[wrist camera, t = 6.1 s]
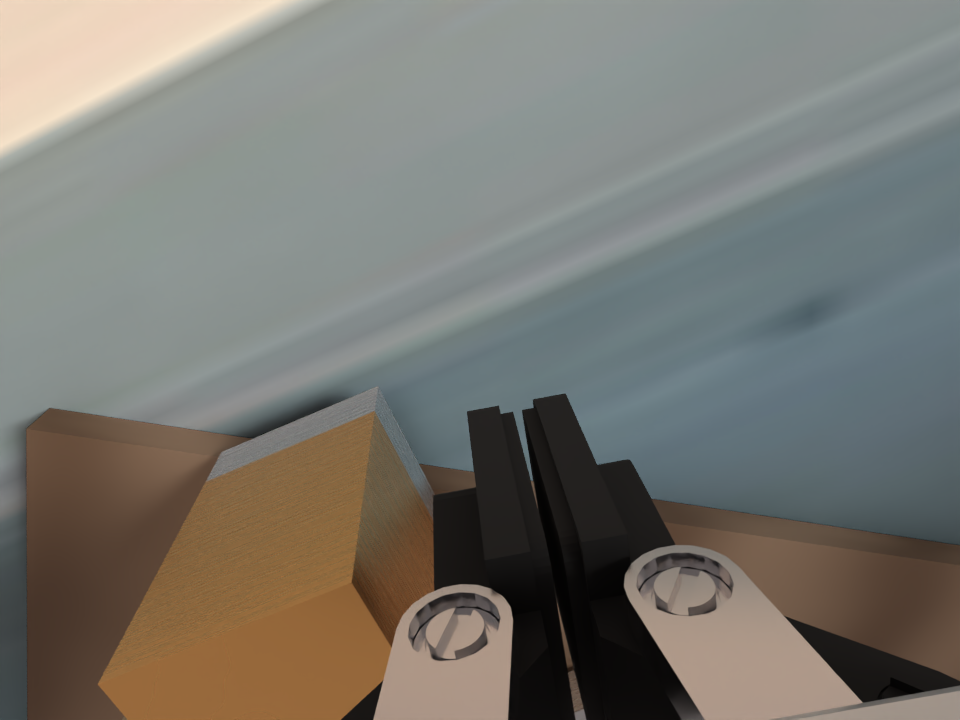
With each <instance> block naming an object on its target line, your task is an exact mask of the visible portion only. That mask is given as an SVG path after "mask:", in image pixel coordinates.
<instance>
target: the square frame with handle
mask: <svg viewBox="0 0 960 720" xmlns="http://www.w3.org/2000/svg"><path fill="white" fill-rule="evenodd" d="M434 495H435V494H434V492H433V490H432V488H431V486H430V484H429V482H428V480H427V478H426V476H425V475H424V473H423V471H422V469H421V467H420V465H419V463H418V461H417V459H416V457H415V455H414V454H413V452H412V450H411V448H410V446H409V444H408V442H407V440H406V438H405V436H404V434H403V432H402V431H401V429H400V427H399V425H398V423H397V421H396V419H395V417H394V415H393V413H392V411H391V410H390V408H389V406H388V404H387V402H386V400H385V398H384V396H383V394H382V392H381V390H380V389H379V387H378V386H377V387H374V388H372V389H370V390H367V391H365V392H363V393H360V394H358V395H355V396H353V397H351V398H348V399H346V400H344V401H341V402H339V403H336V404H334V405H332V406H329V407H327V408H325V409H322V410H320V411H317V412H315V413H313V414H310V415H308V416H306V417H303V418H301V419H299V420H296V421H294V422H291V423H289V424H287V425H284V426H282V427H280V428H277V429H275V430H272V431H270V432H268V433H265V434H263V435H261V436H258V437H256V438H253V439H251V440H249V441H246V442H244V443H242V444H239V445H237V446H235V447H232V448H230V449H227V450H225V451H223V452H221V454H220V456H219V458H218V460H217V462H216V463H215V465H214V467H213V469H212V471H211V473H210V475H209V477H208V478H207V480H206V482H205V484H204V486H203V488H202V490H201V492H200V493H199V495H198V497H197V499H196V501H195V503H194V505H193V507H192V508H191V510H190V512H189V514H188V516H187V518H186V520H185V522H184V523H183V525H182V527H181V529H180V531H179V533H178V535H177V537H176V538H175V540H174V542H173V544H172V546H171V548H170V550H169V552H168V553H167V555H166V557H165V559H164V561H163V563H162V565H161V567H160V568H159V570H158V572H157V574H156V576H155V578H154V580H153V582H152V583H151V585H150V587H149V589H148V591H147V593H146V595H145V597H144V598H143V600H142V602H141V604H140V606H139V608H138V610H137V612H136V613H135V615H134V617H133V619H132V621H131V623H130V625H129V627H128V628H127V630H126V632H125V634H124V636H123V638H122V640H121V642H120V643H119V645H118V647H117V649H116V651H115V653H114V655H113V657H112V658H111V660H110V662H109V664H108V666H107V668H106V670H105V672H104V673H103V675H102V677H101V679H100V681H99V683H98V685H99V687H100V688H101V689H102V690H103V691H104V692H105V694H106V695H107V696H108V697H109V698H110V699H111V701H112V702H113V703H114V704H115V705H116V707H117V708H118V709H119V710H120V711H121V712H122V714H123V715H124V716H125V717H126V718H127V720H341V719H342V718H343V717H344V716H345V715H346V714H347V713H348V712H349V711H351V710H352V709H353V708H354V707H355V706H356V705H357V704H358V703H359V702H360V701H361V700H362V699H364V698H365V697H366V696H367V695H368V694H369V693H370V692H371V691H372V690H373V689H374V688H375V687H377V686H378V685H379V684H380V683H381V682H382V681H383V680H384V676H385V672H386V668H387V664H388V660H389V656H390V652H391V648H392V644H393V640H394V636H395V633H396V629H397V626H398V624H399V622H400V620H401V618H402V616H403V614H404V613H405V612H406V611H407V610H408V609H409V608H410V607H411V605H412V604H413V603H415V602H416V601H418V600H419V599H421V598H422V597H424V596H425V595H426V594H428V593H431V592H433V591H434V545H433V496H434ZM568 675H569V682H570V688H571V694H572V700H573V707H574V713H575V719H576V720H586V716H585V712H584V708H583V704H582V700H581V696H580V692H579V688H578V684H577V680H576V676H575V672H574V670H573V671H570V672H568Z"/></svg>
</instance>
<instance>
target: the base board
mask: <svg viewBox="0 0 960 720" xmlns="http://www.w3.org/2000/svg"><path fill="white" fill-rule="evenodd" d="M249 440H251V438H244V437H237V436H231V435H224V434H218V433H211V432H204V431H198V430H191V429H184V428H178V427H171V426H165V425H158V424H151V423H145V422H138V421H131V420H125V419H118V418H112V417H105V416H98V415H92V414H85V413H78V412H72V411H65V410H59V409H52V408H49V409H48V410H47V411H46V412H45V413H44V414H43V415H42V416H40V417H39V418H38V419H37V420H36V421H35V422H34V423H33V424H31V425H30V426H29V427H28V428H27V429H26V462H27V720H123V717H124V715H123V714H122V712H121V711H120V710H119V709H118V708H117V707H116V705H115V704H114V703H113V702H112V701H111V699H110V698H109V697H108V696H107V695H106V694H105V692H104V691H103V690H102V689H101V688H100V687H99V685H98V683H99V681H100V679H101V677H102V675H103V673H104V672H105V670H106V668H107V666H108V664H109V662H110V660H111V658H112V657H113V655H114V653H115V651H116V649H117V647H118V645H119V643H120V642H121V640H122V638H123V636H124V634H125V632H126V630H127V628H128V627H129V625H130V623H131V621H132V619H133V617H134V615H135V613H136V612H137V610H138V608H139V606H140V604H141V602H142V600H143V598H144V597H145V595H146V593H147V591H148V589H149V587H150V585H151V583H152V582H153V580H154V578H155V576H156V574H157V572H158V570H159V568H160V567H161V565H162V563H163V561H164V559H165V557H166V555H167V553H168V552H169V550H170V548H171V546H172V544H173V542H174V540H175V538H176V537H177V535H178V533H179V531H180V529H181V527H182V525H183V523H184V522H185V520H186V518H187V516H188V514H189V512H190V510H191V508H192V507H193V505H194V503H195V501H196V499H197V497H198V495H199V493H200V492H201V490H202V488H203V486H204V484H205V482H206V480H207V478H208V477H209V475H210V473H211V471H212V469H213V467H214V465H215V463H216V462H217V460H218V458H219V456H220V454H221V452H223V451H225V450H227V449H230V448H232V447H235V446H237V445H239V444H242V443H244V442H246V441H249ZM419 465H420V467H421V469H422V471H423V473H424V475H425V476H426V478H427V480H428V482H429V484H430V486H431V488H432V490H433V492H434V494H435V495H436V494H441V493H447V492H452V491H458V490H463V489H469V488H474V487H476V483H475V474H474V472H469V471H463V470H456V469H450V468H443V467H436V466H430V465H423V464H419ZM531 484H532V488H533V492H534V496H535V500H536V494H535V488H534V482H533V481H531ZM652 501H653V503H654V505H655V507H656V509H657V511H658V512H659V514H660V516H661V518H662V520H663V522H664V524H665V526H666V527H667V529H668V531H669V533H670V535H671V537H672V539H673V541H674V542H675V544H676V545H693V546H698V547H702V548H707V549H711V550H713V551H715V552H718V553H720V554H722V555H724V556H726V557H728V558H729V559H730V560H731V561H732V562H734V563H735V564H736V565H737V566H739V567H740V569H741V570H742V571H743V572H744V573H745V574H746V575H747V576H748V577H749V578H750V580H751V581H752V582H753V583H754V584H755V585H756V586H757V587H758V588H759V589H760V591H761V592H762V593H763V594H764V595H765V596H766V597H767V598H768V599H769V600H770V601H771V603H772V604H773V605H774V606H775V607H776V608H777V609H778V610H779V611H780V612H781V614H782V615H783V616H786V617H789V618H791V619H794V620H797V621H800V622H803V623H805V624H808V625H811V626H814V627H817V628H819V629H822V630H825V631H828V632H831V633H833V634H836V635H839V636H842V637H845V638H847V639H850V640H853V641H856V642H859V643H861V644H864V645H867V646H870V647H873V648H875V649H878V650H881V651H884V652H887V653H889V654H892V655H895V656H898V657H900V658H903V659H906V660H909V661H912V662H914V663H917V664H920V665H923V666H926V667H928V668H931V669H934V670H937V671H939V672H941V673H944V674H946V675H948V676H950V677H952V678H954V679H957V680H959V681H960V545H953V544H947V543H940V542H934V541H927V540H920V539H914V538H907V537H900V536H894V535H887V534H880V533H874V532H867V531H861V530H854V529H847V528H841V527H834V526H827V525H821V524H814V523H808V522H801V521H794V520H788V519H781V518H774V517H768V516H761V515H755V514H748V513H741V512H735V511H728V510H721V509H715V508H708V507H702V506H695V505H688V504H682V503H675V502H668V501H662V500H655V499H652ZM536 504H537V500H536ZM537 507H538V506H537ZM557 606H558V604H557ZM558 613H559V619H560V625H561V631H562V638H563V644H564V650H565V657H566V663H567V669H568V672H570V671H573V670H574V668H573V664H572V660H571V656H570V652H569V648H568V644H567V640H566V636H565V632H564V628H563V624H562V620H561V616H560V612H559V608H558Z"/></svg>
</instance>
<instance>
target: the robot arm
mask: <svg viewBox="0 0 960 720" xmlns="http://www.w3.org/2000/svg"><path fill="white" fill-rule="evenodd" d="M533 405H534V408H531V409H526V410H522V413H523V420H524V426H525V432H526V438H527V445H528V451H529V457H530V463H531V469H532V475H533V482H534V488H535V494H536V500H537V504H536V500H535V496H534V492H533V488H532V484H531V480H530V476H529V472H528V469H527V465H526V461H525V457H524V453H523V449H522V445H521V441H520V437H519V434H518V430H517V426H516V422H515V418H514V414H513V412H509V413H504V414H500V409H499V406H495V407H489V408H484V409H478V410H473V411H467V416H468V424H469V432H470V441H471V449H472V458H473V466H474V474H475V483H476V487H474V488H469V489H463V490H458V491H452V492H447V493H441V494H436V495H434V496H433V545H434V591H433V592H431V593H428V594H426V595H425V596H424V597H422V598H421V599H419V600H418V601H416V602H415V603H413V604H412V605H411V607H410V608H409V609H408V610H407V611H406V612H405V613H404V614H403V616H402V618H401V620H400V622H399V624H398V626H397V629H396V633H395V636H394V640H393V644H392V648H391V652H390V656H389V660H388V664H387V668H386V672H385V676H384V680H383V681H382V682H381V683H380V684H379V685H378V686H377V687H375V688H374V689H373V690H372V691H371V692H370V693H369V694H368V695H367V696H366V697H365V698H364V699H362V700H361V701H360V702H359V703H358V704H357V705H356V706H355V707H354V708H353V709H352V710H351V711H349V712H348V713H347V714H346V715H345V716H344V717H343V718H342V719H341V720H576V719H575V713H574V707H573V700H572V694H571V688H570V682H569V675H568V669H567V663H566V657H565V650H564V644H563V638H562V631H561V625H560V619H559V613H558V608H559V612H560V616H561V620H562V624H563V628H564V632H565V636H566V640H567V644H568V648H569V652H570V656H571V660H572V664H573V668H574V672H575V676H576V680H577V684H578V688H579V692H580V696H581V700H582V704H583V708H584V712H585V716H586V720H960V681H959V680H957V679H954V678H952V677H950V676H948V675H946V674H944V673H941V672H939V671H937V670H934V669H931V668H928V667H926V666H923V665H920V664H917V663H914V662H912V661H909V660H906V659H903V658H900V657H898V656H895V655H892V654H889V653H887V652H884V651H881V650H878V649H875V648H873V647H870V646H867V645H864V644H861V643H859V642H856V641H853V640H850V639H847V638H845V637H842V636H839V635H836V634H833V633H831V632H828V631H825V630H822V629H819V628H817V627H814V626H811V625H808V624H805V623H803V622H800V621H797V620H794V619H791V618H789V617H786V616H783V615H782V614H781V612H780V611H779V610H778V609H777V608H776V607H775V606H774V605H773V604H772V603H771V601H770V600H769V599H768V598H767V597H766V596H765V595H764V594H763V593H762V592H761V591H760V589H759V588H758V587H757V586H756V585H755V584H754V583H753V582H752V581H751V580H750V578H749V577H748V576H747V575H746V574H745V573H744V572H743V571H742V570H741V569H740V567H739V566H737V565H736V564H735V563H734V562H732V561H731V560H730V559H729V558H728V557H726V556H724V555H722V554H720V553H718V552H715V551H713V550H711V549H707V548H702V547H698V546H693V545H676V544H675V542H674V541H673V539H672V537H671V535H670V533H669V531H668V529H667V527H666V526H665V524H664V522H663V520H662V518H661V516H660V514H659V512H658V511H657V509H656V507H655V505H654V503H653V501H652V499H651V497H650V496H649V494H648V492H647V490H646V488H645V486H644V484H643V482H642V481H641V479H640V477H639V475H638V473H637V471H636V469H635V467H634V466H633V464H632V462H631V461H630V460H622V461H616V462H611V463H606V464H600V465H597V464H596V462H595V459H594V457H593V455H592V452H591V450H590V448H589V446H588V443H587V441H586V439H585V437H584V434H583V432H582V430H581V427H580V425H579V423H578V421H577V418H576V416H575V414H574V412H573V409H572V407H571V405H570V402H569V400H568V398H567V396H566V394H560V395H555V396H549V397H544V398H538V399H533ZM537 506H538V507H537ZM557 604H558V606H557Z"/></svg>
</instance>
